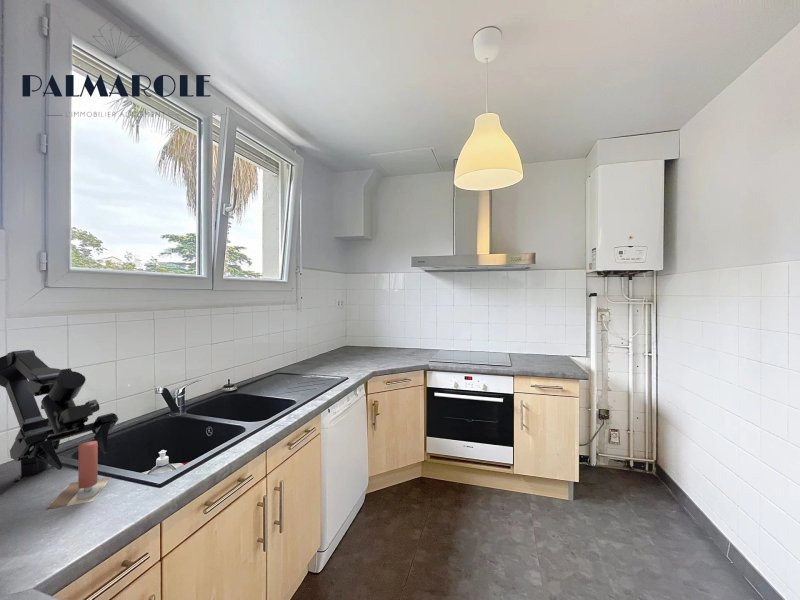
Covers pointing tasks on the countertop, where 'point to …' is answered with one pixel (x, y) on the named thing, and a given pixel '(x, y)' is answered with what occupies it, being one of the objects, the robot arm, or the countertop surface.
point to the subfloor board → (75, 494)
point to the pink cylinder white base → (87, 470)
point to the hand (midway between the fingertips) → (84, 460)
